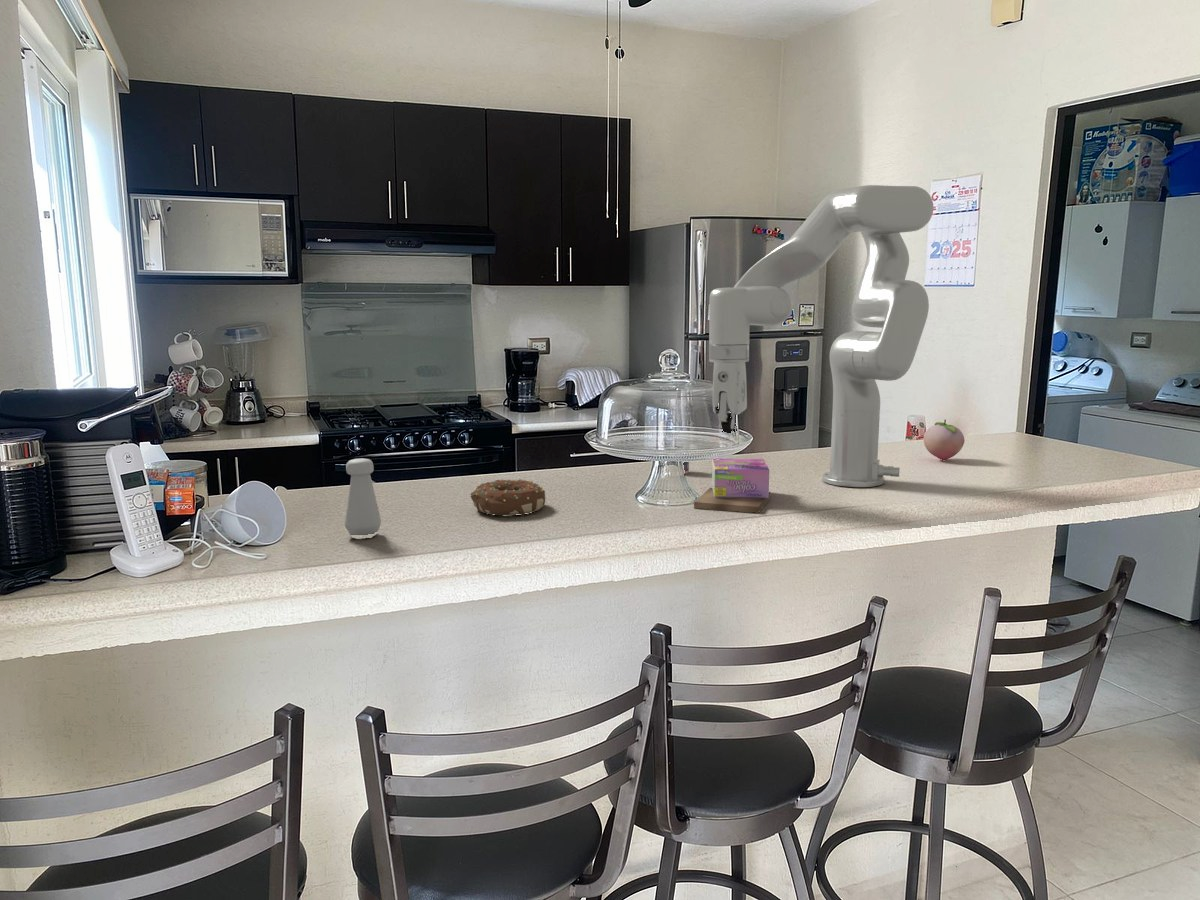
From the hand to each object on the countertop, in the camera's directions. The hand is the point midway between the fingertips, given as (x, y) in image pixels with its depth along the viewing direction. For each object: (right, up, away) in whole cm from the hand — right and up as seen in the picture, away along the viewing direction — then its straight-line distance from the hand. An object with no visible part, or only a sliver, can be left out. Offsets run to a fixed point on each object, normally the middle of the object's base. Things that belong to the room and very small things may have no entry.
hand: (728, 448), depth 164 cm
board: (+1, -10, -2) cm, 11 cm away
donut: (-42, -12, -6) cm, 44 cm away
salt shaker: (-64, -15, -23) cm, 70 cm away
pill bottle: (-7, -6, +27) cm, 29 cm away
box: (+3, -5, +8) cm, 10 cm away
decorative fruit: (+57, -3, +38) cm, 69 cm away
